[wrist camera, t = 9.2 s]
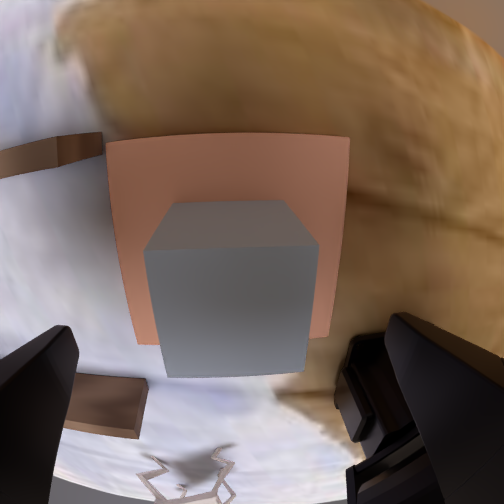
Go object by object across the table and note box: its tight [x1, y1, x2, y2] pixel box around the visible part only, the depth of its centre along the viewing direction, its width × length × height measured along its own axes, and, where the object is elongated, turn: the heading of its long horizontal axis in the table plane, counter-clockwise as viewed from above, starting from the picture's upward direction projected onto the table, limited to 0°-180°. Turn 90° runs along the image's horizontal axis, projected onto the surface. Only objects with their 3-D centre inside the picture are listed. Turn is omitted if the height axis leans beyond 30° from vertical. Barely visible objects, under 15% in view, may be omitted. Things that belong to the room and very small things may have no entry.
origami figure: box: [136, 448, 236, 504], centre depth 20 cm, size 12×8×5 cm
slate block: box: [143, 200, 319, 378], centre depth 11 cm, size 4×4×5 cm
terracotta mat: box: [106, 133, 350, 345], centre depth 13 cm, size 10×10×1 cm
